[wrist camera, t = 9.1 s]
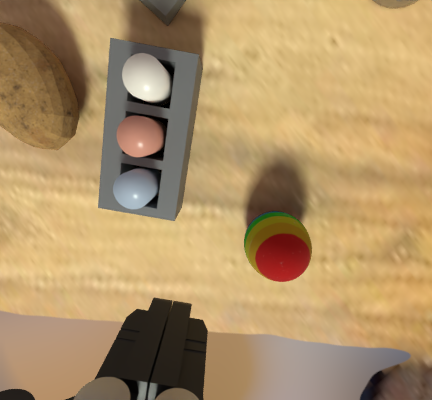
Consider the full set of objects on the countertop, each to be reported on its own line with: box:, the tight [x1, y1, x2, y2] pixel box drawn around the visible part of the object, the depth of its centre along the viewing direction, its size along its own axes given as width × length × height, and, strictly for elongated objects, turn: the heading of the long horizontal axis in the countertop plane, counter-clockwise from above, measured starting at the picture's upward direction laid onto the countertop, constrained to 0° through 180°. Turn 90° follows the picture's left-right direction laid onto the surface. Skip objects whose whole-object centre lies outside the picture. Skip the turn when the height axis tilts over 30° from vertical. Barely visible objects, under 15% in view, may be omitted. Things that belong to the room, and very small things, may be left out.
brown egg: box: [117, 116, 167, 157], centre depth 29 cm, size 4×4×6 cm
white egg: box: [122, 53, 173, 105], centre depth 28 cm, size 4×4×6 cm
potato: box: [0, 23, 79, 150], centre depth 30 cm, size 10×14×8 cm
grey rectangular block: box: [98, 38, 203, 221], centre depth 32 cm, size 18×9×6 cm, turn 170°
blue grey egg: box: [113, 166, 161, 209], centre depth 31 cm, size 4×4×6 cm
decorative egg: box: [244, 211, 312, 282], centre depth 33 cm, size 8×8×10 cm
